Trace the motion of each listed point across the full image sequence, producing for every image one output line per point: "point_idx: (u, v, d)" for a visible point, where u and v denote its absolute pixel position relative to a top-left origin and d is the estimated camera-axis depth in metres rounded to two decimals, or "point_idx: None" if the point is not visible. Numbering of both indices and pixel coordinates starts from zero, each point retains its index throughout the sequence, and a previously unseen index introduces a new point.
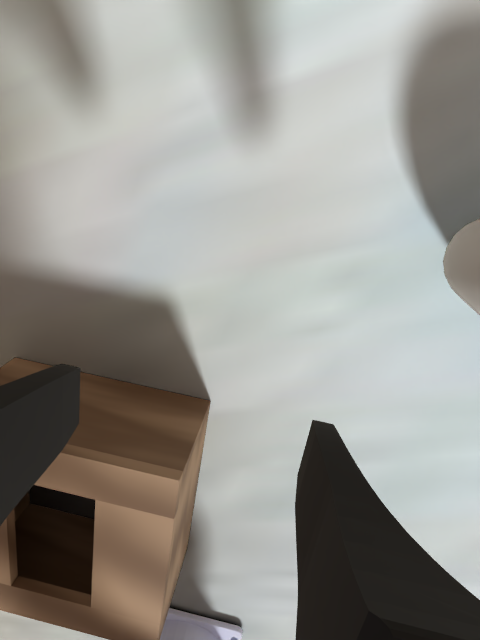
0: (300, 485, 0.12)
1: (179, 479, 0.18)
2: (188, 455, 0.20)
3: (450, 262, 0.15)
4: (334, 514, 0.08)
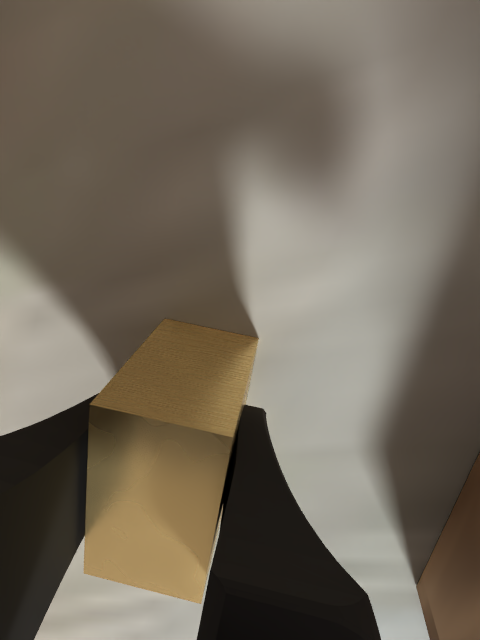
0: None
1: None
2: None
3: None
4: (230, 489, 0.08)
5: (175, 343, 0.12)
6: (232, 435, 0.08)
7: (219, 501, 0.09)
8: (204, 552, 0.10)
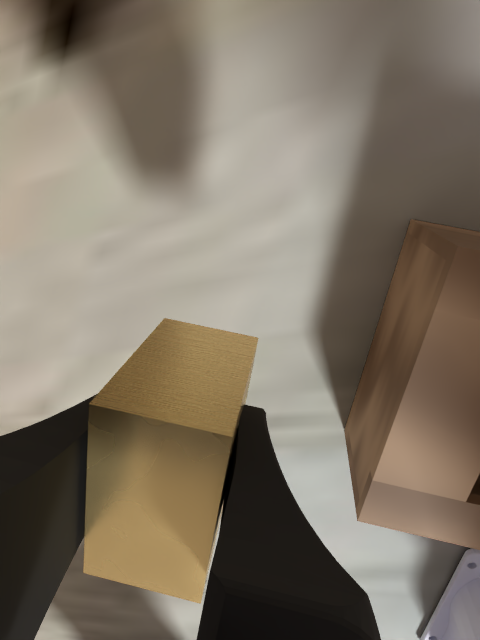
0: None
1: None
2: None
3: None
4: (230, 489, 0.08)
5: (175, 343, 0.12)
6: (232, 434, 0.08)
7: (219, 501, 0.09)
8: (204, 552, 0.10)
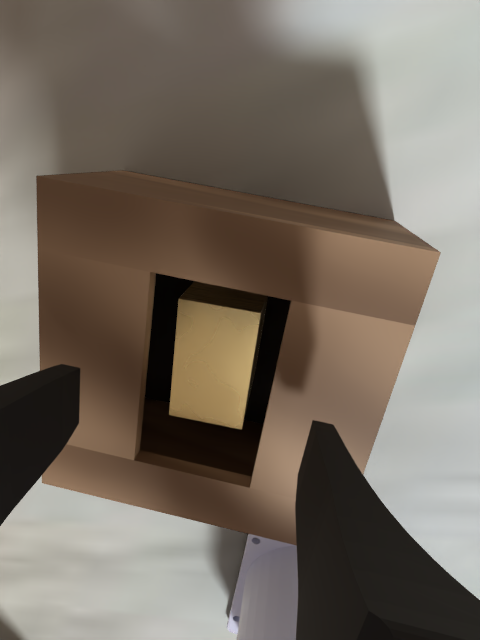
0: (300, 485, 0.12)
1: (438, 252, 0.12)
2: (423, 241, 0.13)
3: None
4: (334, 514, 0.08)
5: None
6: (260, 312, 0.15)
7: (253, 355, 0.16)
8: (244, 392, 0.16)
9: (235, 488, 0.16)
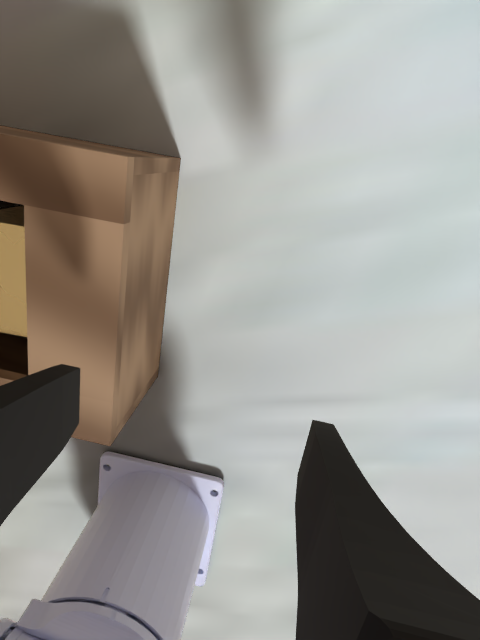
0: (300, 485, 0.12)
1: (128, 158, 0.14)
2: (144, 157, 0.16)
3: None
4: (334, 514, 0.08)
5: None
6: None
7: None
8: None
9: None
